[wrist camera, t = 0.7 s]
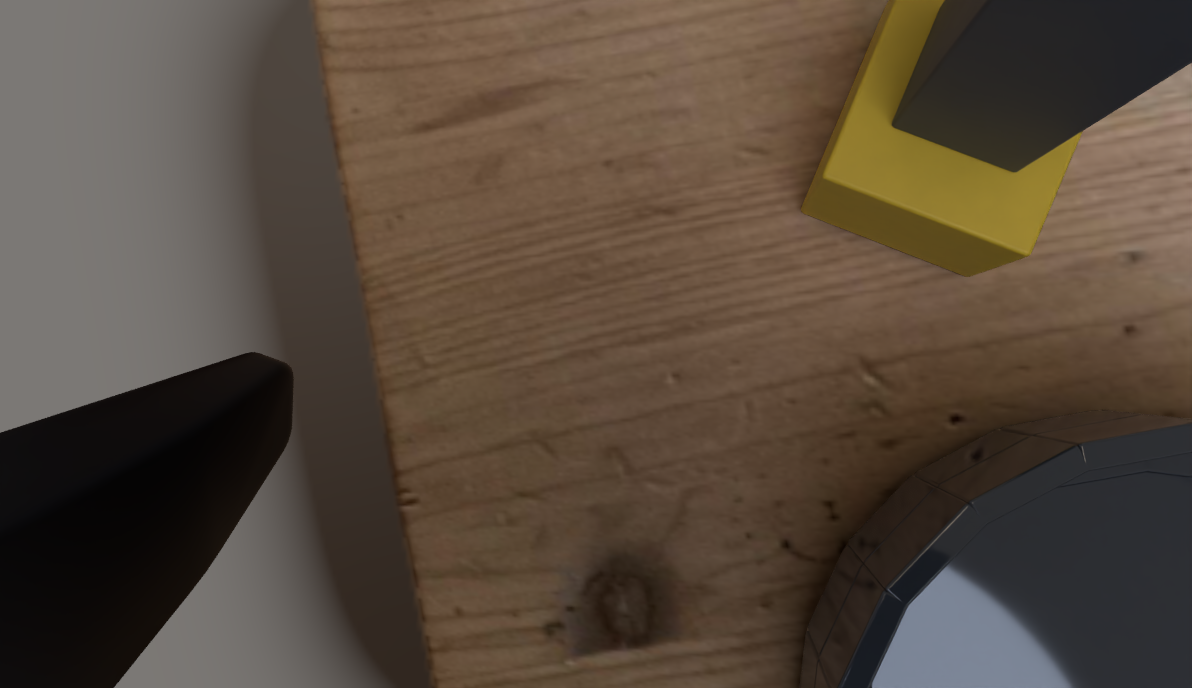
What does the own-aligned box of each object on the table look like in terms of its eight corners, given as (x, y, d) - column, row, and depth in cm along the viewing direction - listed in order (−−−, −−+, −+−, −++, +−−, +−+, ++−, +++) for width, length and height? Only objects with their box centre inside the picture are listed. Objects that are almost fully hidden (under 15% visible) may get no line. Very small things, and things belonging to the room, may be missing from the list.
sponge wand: (968, 278, 21) (1485, 102, 7) (799, 212, 22) (975, -73, 8) (1057, 68, 21) (1754, -522, 7) (885, 7, 21) (1221, -662, 8)
